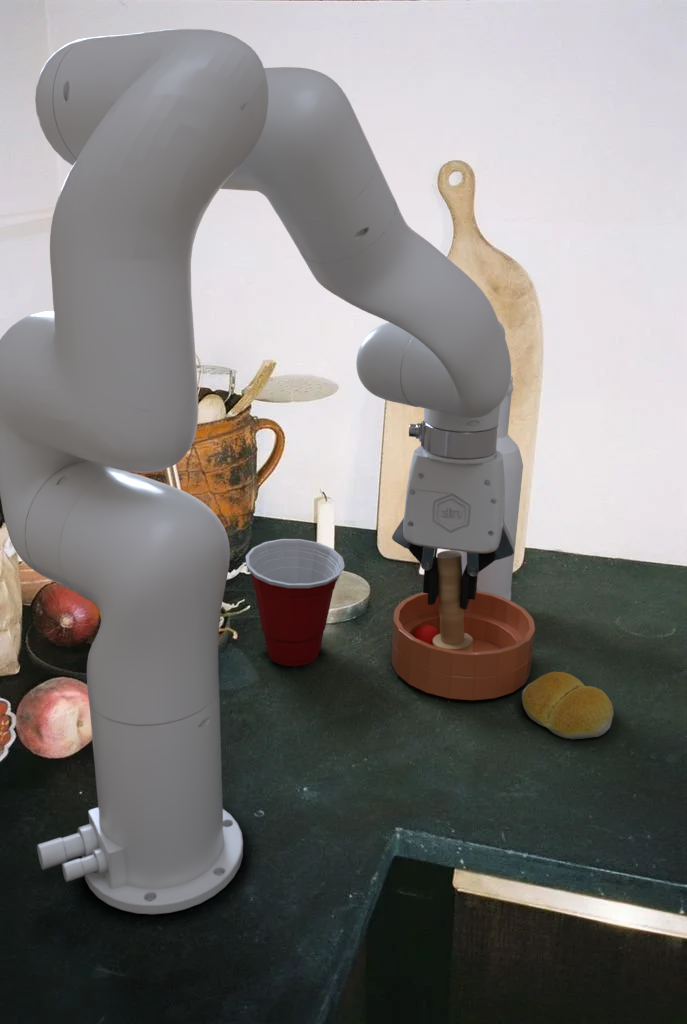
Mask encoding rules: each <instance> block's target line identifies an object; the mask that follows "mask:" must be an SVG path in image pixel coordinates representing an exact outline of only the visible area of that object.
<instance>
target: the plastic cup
mask: <svg viewBox="0 0 687 1024" xmlns="http://www.w3.org/2000/svg"><path fill="white" fill-rule="evenodd" d="M245 566H246V569H247V570H248V571H249V573H250V576H251V581H252V583H253V590H254V591H255V596H256V602H257V607H258V613H259V619H260V624H261V631H262V633H263V636H264V641H265V647H266V652H267V654H268V658H269V659H270V660H271V661H272V662H274V663H276V664H279V665H281V666H287V667H299V666H300V667H302V666H304V665H308V664H310V663H312V662H313V661H315V660H316V659H317V658H318V656H319V653H320V650H321V647H322V642H323V636H324V631H325V630H326V628H327V627H326V626H327V622H328V616H329V612H330V607H331V602H332V599H333V593H334V590H335V588H336V584H337V582H338V579H339V578H340V576H341V574H342V573H343V571H344V569H345V567H346V565H345V562H344V558H343V556H342V555H341V554H340V553H338V551H336V550H335V549H334V548H332V547H331V546H328V545H325V544H322V543H321V542H317V541H314V540H313V541H312V540H308V539H307V540H306V539H302V538H280V539H274V540H269V541H268V540H267V541H264V542H262V543H260V544H258V545H256V546H254V547H252V548H251V549H250V550H249V551H248V552H247V554H246V555H245Z"/></svg>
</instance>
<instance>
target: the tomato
mask: <svg viewBox="0 0 687 1024" xmlns="http://www.w3.org/2000/svg"><path fill="white" fill-rule="evenodd" d="M438 634H440V633H439V631H438V630H437V629H436V628H435V627H434V626H431V625H422V626H420V627H419V628H418V629H417V630H416V631H415V634H414V637H415V638H416V639H419V640H421V641H423V642H426V643H428V644H430V645H433V638H434V637H435V636H436V635H438Z"/></svg>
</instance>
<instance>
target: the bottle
mask: <svg viewBox="0 0 687 1024" xmlns="http://www.w3.org/2000/svg"><path fill="white" fill-rule="evenodd" d="M513 382H514V378H513V375H511V379H510V385H509V388H508V391H507V394H506V396H505V398H504V400H503V401H502V403H501V404H500V412H499V423H498V437H497V451H499V452H500V453H501V454H502V458H503V465H504V477H505V512H504V522H505V525H506V527H507V529H508V531H509V534H510V536H511V538H512V540H513V543H514V545H515V546H516V544H517V543H516V541H517V534H518V533H517V531H518V524H519V523H518V522H519V511H520V501H521V493H522V492H521V491H522V482H523V481H522V480H523V471H524V462H523V458H522V455H521V451H520V447H519V445H518V444H517V443H516V441H514V440H513V438H512V437H511V436H510V435H509V425H510V415H511V406H512V405H511V404H512V395H513V392H514V385H513ZM449 551H454V550H449ZM457 552H460V553H461V555H462V575H463V572H464V570H465V567H466V565H467V552H463V551H457ZM515 552H516V549H515V550H514V554H513V555H511V556H509V557H506V558H503V559H500V560H495V561H493V562H492V563H491V564H490V565H488V566H487V567H486V568H484V569H483V570H481V571H480V572H479V573H478V578H477V591H481V592H486V593H491V594H495V595H497V596H500V597H503V598H505V599H508V600H511V601H512V583H513V574H514V573H513V571H514V562H515Z"/></svg>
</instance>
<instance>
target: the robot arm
mask: <svg viewBox="0 0 687 1024" xmlns="http://www.w3.org/2000/svg"><path fill="white" fill-rule="evenodd" d="M34 97H35V98H34V101H35V109H36V110H35V112H36V116H37V120H38V123H39V126H40V129H41V131H42V133H43V135H44V137H45V139H46V140H47V142H48V143H49V145H50V146H51V147H52V149H53V150H54V151H55V153H57V154H58V155H59V157H61V158H62V159H63V160H64V161H65V162H67V163H68V164H69V165H71V168H70V170H69V171H68V174H67V176H66V177H65V180H64V182H63V185H62V187H61V189H60V192H59V194H58V197H57V201H56V203H55V207H54V210H53V215H52V219H51V225H50V233H49V234H50V235H49V261H50V263H49V264H50V273H51V289H52V303H53V304H52V305H53V310H49V311H48V310H47V311H40V312H36V313H33V314H30V315H28V316H25V317H23V318H21V319H19V320H18V321H16V322H15V323H14V324H13V325H11V326H10V327H9V328H8V329H7V330H6V331H5V333H4V334H3V335H2V336H1V337H0V502H1V506H2V507H1V509H2V514H3V519H4V523H5V528H6V531H7V534H8V536H9V540H10V543H11V544H12V547H13V548H14V551H15V552H16V554H17V555H18V557H19V558H20V559H21V561H22V562H23V563H24V564H26V566H28V567H29V568H30V570H31V569H32V570H33V571H34V572H35V573H37V574H38V575H41V577H44V578H46V579H48V580H50V581H51V582H54V583H55V584H58V585H59V586H62V587H64V588H66V589H68V590H70V591H73V592H74V593H76V594H77V595H79V596H80V597H82V598H84V599H86V600H88V601H90V602H92V603H93V604H95V606H96V607H97V608H98V611H99V613H100V625H99V629H98V631H97V633H96V634H95V635H96V636H95V638H94V639H93V641H92V644H91V646H90V648H89V651H88V656H87V661H86V686H87V688H86V689H87V698H88V706H89V715H90V718H89V719H90V726H91V738H92V739H91V740H92V741H91V742H92V751H93V762H94V763H93V764H94V774H95V785H96V797H97V807H94V808H90V809H89V810H88V811H87V812H88V813H87V814H88V821H89V823H87V824H85V825H82V826H79V827H77V832H76V833H72V834H69V835H67V836H64V837H62V836H61V837H57V838H54V839H49V840H47V841H45V842H44V841H43V842H41V843H38V844H36V850H37V851H36V852H37V856H38V861H39V864H40V867H41V870H42V871H45V870H48V869H51V868H54V867H56V866H60V865H61V868H62V869H61V870H62V874H63V878H64V881H65V883H68V882H71V881H74V880H78V879H81V878H84V880H85V882H86V884H87V886H88V888H89V890H90V891H91V892H92V893H93V895H95V896H96V897H97V899H99V900H101V901H103V902H104V903H105V904H107V905H108V906H111V907H113V908H116V909H118V910H121V911H124V912H128V913H133V914H140V915H141V914H142V915H160V914H161V915H162V914H170V913H176V912H179V911H183V910H186V909H189V908H192V907H195V906H197V905H200V904H202V903H204V902H205V901H207V900H209V899H211V898H213V897H214V896H216V895H217V894H219V893H220V892H221V891H222V890H224V889H225V888H226V887H227V885H229V883H230V882H231V881H232V880H233V879H234V878H235V876H236V874H237V873H238V871H239V869H240V867H241V864H242V862H243V861H242V860H243V857H244V839H243V832H242V830H241V828H240V826H239V823H238V822H237V820H236V819H235V818H234V817H233V815H231V813H230V812H228V811H227V810H225V808H224V805H223V804H224V803H223V775H222V774H223V773H222V769H223V768H222V739H221V738H222V735H221V706H220V704H221V703H220V701H221V700H220V680H219V679H220V678H219V675H220V674H219V672H220V671H219V640H220V639H219V636H220V622H221V613H222V606H223V600H224V596H225V590H226V585H227V580H228V576H229V569H230V559H231V548H230V541H229V537H228V534H227V531H226V529H225V526H224V524H223V522H222V521H221V519H220V518H219V517H218V516H217V514H216V513H215V512H214V511H213V509H211V507H209V505H207V504H205V503H204V502H203V501H202V500H200V499H199V498H197V497H195V496H194V495H193V494H190V493H189V492H186V491H184V490H182V489H180V488H178V487H175V486H172V485H170V484H167V483H164V482H162V481H158V480H156V479H152V478H149V477H146V476H145V475H141V474H142V473H143V474H145V473H146V474H147V473H157V472H162V471H164V470H167V469H169V468H171V467H173V466H175V465H177V464H178V463H179V462H181V461H182V460H183V458H184V457H185V456H186V455H187V453H188V452H189V451H190V449H191V447H192V446H193V443H194V441H195V438H196V435H197V429H198V421H199V388H198V387H199V386H198V372H197V358H196V342H195V328H194V313H193V299H192V297H193V296H192V256H193V255H192V254H193V249H194V248H193V247H194V242H195V239H196V237H197V232H198V230H199V227H200V224H201V222H202V220H203V218H204V215H205V213H206V212H207V209H208V208H209V207H210V205H211V203H212V201H213V200H214V198H215V196H216V195H217V193H219V191H220V190H231V191H232V190H233V191H245V192H247V191H249V192H257V193H260V194H262V196H263V197H265V198H266V199H267V201H268V202H269V204H270V205H271V207H272V210H273V211H274V213H275V214H276V215H277V216H278V218H279V220H280V221H281V223H282V225H283V226H284V228H285V230H286V232H287V233H288V235H289V237H290V238H291V240H292V242H293V243H294V245H295V247H296V248H297V250H298V252H299V253H300V256H301V257H302V259H303V260H304V262H305V264H306V265H307V267H308V270H309V271H310V272H311V275H312V276H313V278H314V279H315V280H316V281H317V283H318V284H319V285H320V286H322V287H323V288H324V289H326V291H328V292H330V293H331V294H333V295H334V296H336V297H338V298H340V299H341V300H343V301H345V302H346V303H348V304H349V305H352V306H353V307H355V308H358V309H359V310H362V311H363V312H365V313H367V314H371V315H372V316H375V317H377V318H379V319H382V320H384V321H386V323H383V324H381V325H379V326H377V327H376V328H374V329H372V330H371V331H370V333H368V334H367V335H366V337H364V339H363V341H362V342H361V344H360V346H359V348H358V351H357V354H356V361H355V362H356V373H357V376H358V379H359V381H360V383H361V384H362V386H363V387H364V388H365V389H366V390H367V391H368V392H369V393H370V394H372V395H373V396H375V397H377V398H380V399H382V400H385V401H387V402H390V403H391V402H392V403H396V404H401V405H404V406H409V407H415V408H421V409H424V410H423V420H422V421H421V422H418V423H410V424H409V427H408V437H411V438H415V440H416V439H417V440H418V441H419V443H420V445H419V446H417V448H416V449H414V451H413V455H412V458H411V462H410V467H409V472H408V479H407V486H406V493H405V501H404V512H403V518H402V519H401V521H400V522H399V524H398V526H397V527H396V529H394V532H393V534H392V535H391V540H393V542H395V543H396V544H398V545H399V546H401V547H403V548H405V549H407V550H409V553H410V554H411V555H412V556H413V557H414V558H415V559H416V560H417V561H418V562H419V564H420V567H421V569H422V570H424V571H423V587H422V588H423V589H422V592H423V593H428V604H430V605H433V604H435V602H436V599H437V597H438V594H439V588H438V566H437V554H438V550H445V551H450V550H454V551H463V552H467V565H466V567H465V570H464V572H463V575H462V583H461V597H460V608H462V609H467V606H468V603H469V600H470V599H472V600H475V597H476V591H477V578H478V573H479V572H480V571H481V570H483V569H484V568H486V567H487V566H488V565H490V564H491V563H492V562H493V561H495V560H500V559H503V558H506V557H509V556H511V555H513V554H514V555H515V553H514V550H515V551H516V544H515V545H514V543H513V540H512V538H511V536H510V534H509V531H508V529H507V527H506V525H505V522H504V512H505V477H504V465H503V458H502V454H501V453H500V452H499V451H497V437H498V423H499V412H500V404H501V403H502V401H503V400H504V398H505V396H506V394H507V391H508V388H509V385H510V379H511V376H512V362H511V355H510V354H511V353H510V350H509V345H508V342H507V340H506V329H505V327H504V325H503V324H502V323H501V321H499V319H498V316H497V314H496V311H495V309H494V307H493V305H492V303H491V302H490V300H489V298H488V296H486V294H485V293H484V291H483V290H482V289H481V288H480V286H479V285H477V283H476V282H475V281H474V280H473V279H472V278H471V277H470V276H469V275H468V274H467V273H466V272H465V271H463V270H462V268H460V267H459V266H458V265H457V264H455V263H454V262H453V261H452V260H451V259H449V258H448V257H447V256H446V254H444V253H443V252H442V251H441V250H439V249H438V248H437V247H436V246H435V245H433V244H432V243H431V242H430V241H428V240H427V239H426V238H424V237H423V236H421V234H419V233H418V232H416V231H415V230H414V229H412V227H411V226H410V225H408V223H407V221H406V220H405V218H404V216H403V214H402V212H401V209H400V207H399V205H398V203H397V200H396V199H395V197H394V194H393V192H392V190H391V188H390V186H389V183H388V181H387V179H386V177H385V175H384V173H383V170H382V168H381V166H380V164H379V162H378V160H377V158H376V155H375V154H374V151H373V149H372V147H371V145H370V143H369V140H368V139H367V135H366V134H365V132H364V129H363V128H362V126H361V123H360V121H359V119H358V116H357V114H356V113H355V110H354V108H353V105H352V104H351V101H350V100H349V98H348V96H347V95H346V93H345V91H344V90H343V89H342V88H341V86H340V85H339V84H338V82H336V81H335V80H334V79H333V78H331V77H330V76H329V75H327V74H325V73H323V72H321V71H318V70H315V69H310V68H307V67H297V66H296V67H295V66H293V67H291V66H281V67H279V66H278V67H264V64H263V62H262V60H261V58H260V56H259V55H258V54H257V52H256V51H255V50H254V49H253V48H252V47H251V46H250V45H249V44H248V43H246V42H244V41H243V40H242V39H240V38H238V37H237V36H234V35H232V34H229V33H227V32H223V31H219V30H214V29H213V30H212V29H204V28H203V29H202V28H174V29H161V30H151V31H142V32H135V33H129V34H127V33H126V34H117V35H115V34H114V35H105V36H104V35H103V36H93V37H87V38H80V39H76V40H74V41H71V42H69V43H67V44H65V45H63V46H62V47H60V48H59V49H58V50H56V51H54V53H53V54H52V55H51V56H50V57H49V58H48V60H47V61H46V62H45V63H44V65H43V67H42V69H41V71H40V72H39V75H38V79H37V83H36V86H35V96H34ZM140 473H141V474H140ZM79 857H81V858H79Z"/></svg>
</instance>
